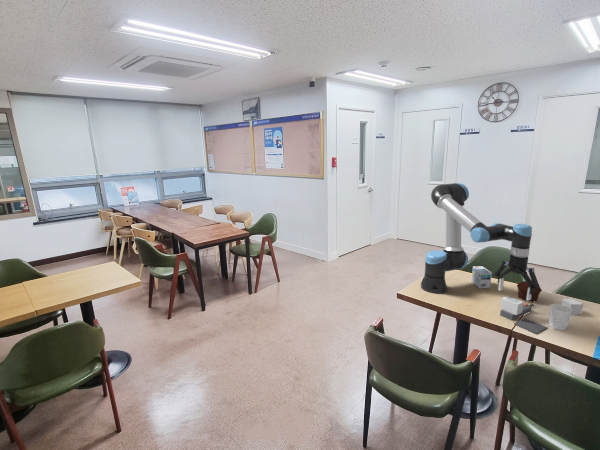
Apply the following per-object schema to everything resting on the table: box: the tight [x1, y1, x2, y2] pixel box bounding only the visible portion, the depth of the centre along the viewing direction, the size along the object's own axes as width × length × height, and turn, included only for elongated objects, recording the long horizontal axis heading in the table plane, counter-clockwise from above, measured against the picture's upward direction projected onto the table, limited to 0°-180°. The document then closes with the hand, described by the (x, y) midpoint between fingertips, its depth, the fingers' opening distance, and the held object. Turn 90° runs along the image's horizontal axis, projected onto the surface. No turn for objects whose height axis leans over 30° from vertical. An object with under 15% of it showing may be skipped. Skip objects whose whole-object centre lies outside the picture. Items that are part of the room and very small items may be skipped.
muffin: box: [516, 280, 543, 303], centre depth 182 cm, size 12×11×10 cm
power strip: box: [499, 301, 535, 321], centre depth 169 cm, size 6×26×4 cm, turn 118°
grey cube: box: [560, 298, 584, 316], centre depth 167 cm, size 6×6×6 cm
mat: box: [513, 317, 548, 335], centre depth 155 cm, size 10×10×1 cm
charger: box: [499, 295, 525, 315], centre depth 164 cm, size 8×5×8 cm, turn 28°
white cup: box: [548, 303, 572, 331], centre depth 154 cm, size 8×8×10 cm
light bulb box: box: [470, 265, 493, 289], centre depth 201 cm, size 11×7×11 cm, turn 179°
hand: (514, 294), depth 162 cm, fingers open, 13 cm apart
